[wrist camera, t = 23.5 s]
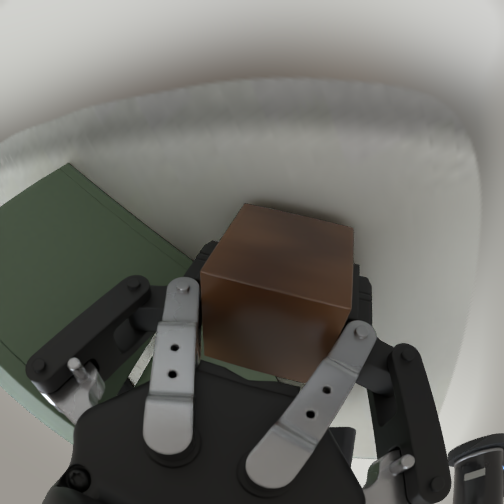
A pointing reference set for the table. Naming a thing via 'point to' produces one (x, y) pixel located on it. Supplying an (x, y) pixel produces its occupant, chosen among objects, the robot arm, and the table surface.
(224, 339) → the block
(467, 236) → the table surface
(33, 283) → the cupboard
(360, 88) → the table surface
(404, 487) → the robot arm
